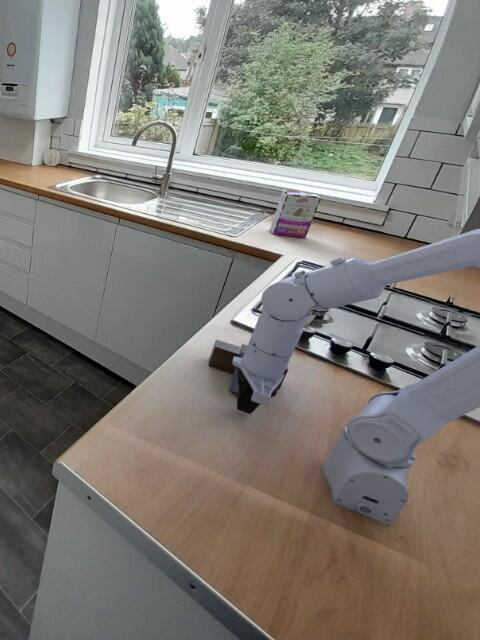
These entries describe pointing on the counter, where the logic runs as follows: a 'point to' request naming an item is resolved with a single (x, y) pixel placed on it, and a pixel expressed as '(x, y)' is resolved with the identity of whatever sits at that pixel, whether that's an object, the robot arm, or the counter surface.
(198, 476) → the counter surface
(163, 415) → the counter surface
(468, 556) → the counter surface
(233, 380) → the blue lidded container
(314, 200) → the candy bar box
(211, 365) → the pale-topped brown beam
